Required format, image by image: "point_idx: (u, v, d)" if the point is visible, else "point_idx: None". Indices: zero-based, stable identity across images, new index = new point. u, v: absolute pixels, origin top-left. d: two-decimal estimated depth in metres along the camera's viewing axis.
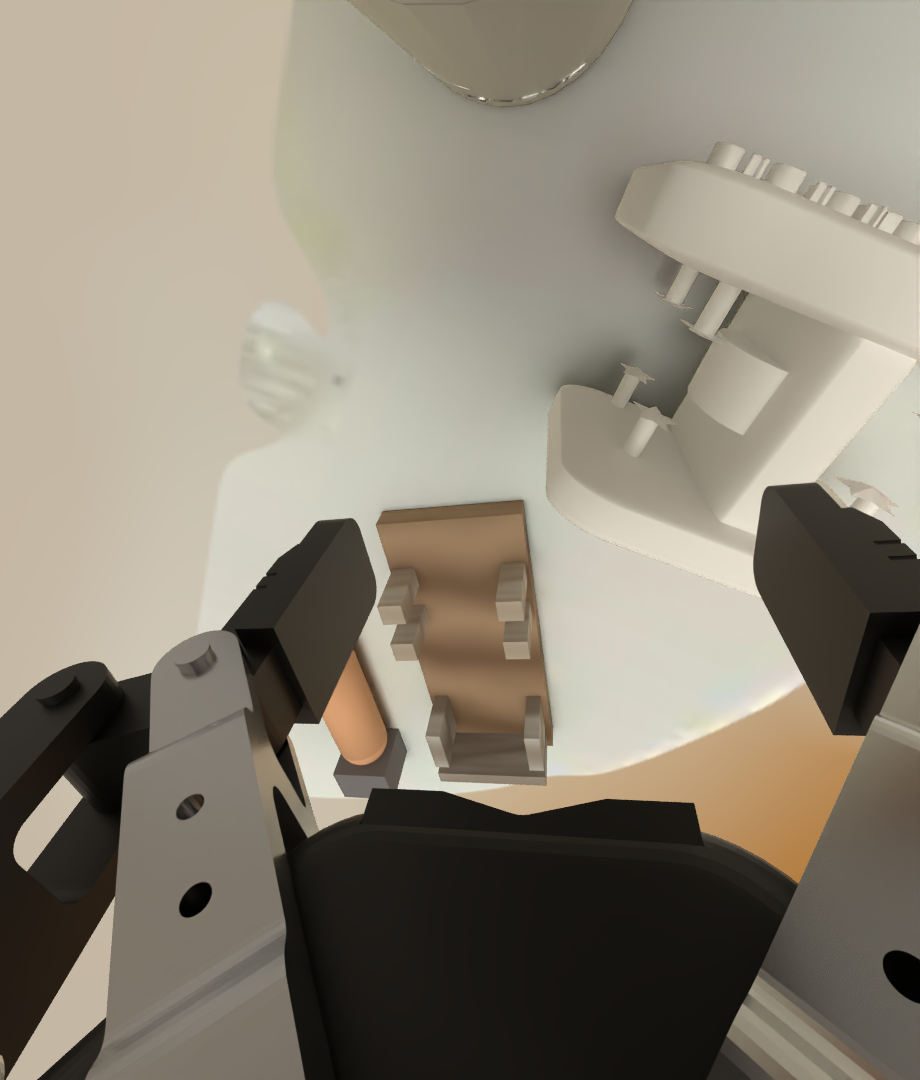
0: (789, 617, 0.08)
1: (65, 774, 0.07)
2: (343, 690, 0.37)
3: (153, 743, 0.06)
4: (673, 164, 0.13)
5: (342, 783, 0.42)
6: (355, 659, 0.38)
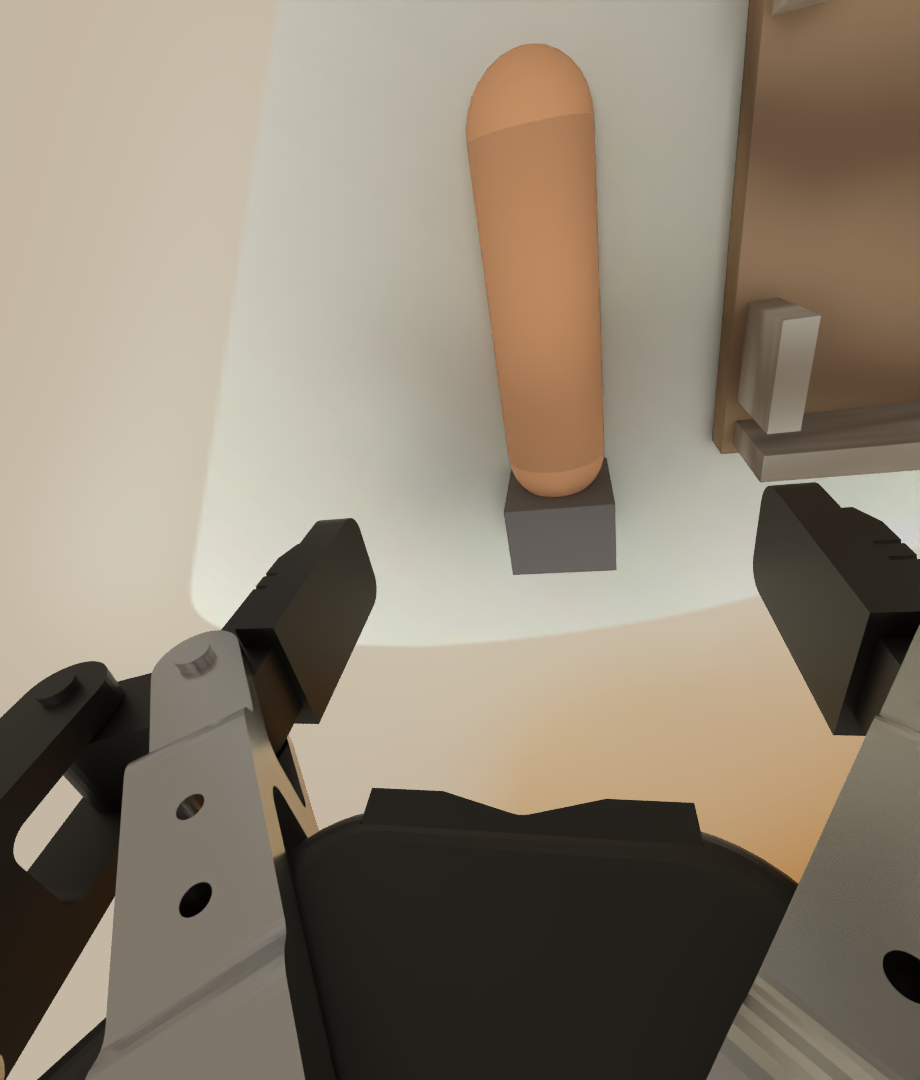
0: (789, 617, 0.08)
1: (65, 774, 0.07)
2: (579, 244, 0.17)
3: (153, 742, 0.06)
4: None
5: (517, 536, 0.22)
6: None
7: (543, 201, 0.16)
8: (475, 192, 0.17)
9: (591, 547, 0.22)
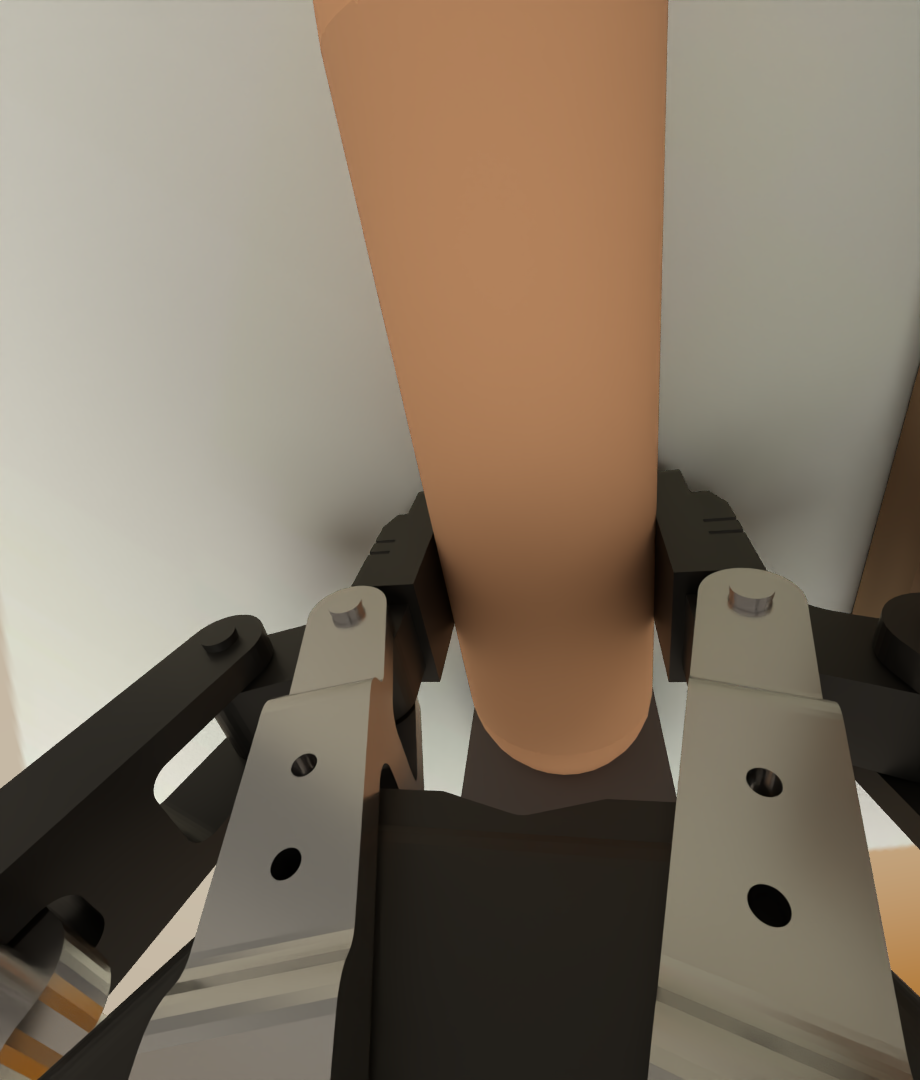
0: None
1: (224, 721, 0.08)
2: (623, 319, 0.06)
3: (295, 682, 0.07)
4: None
5: None
6: None
7: (526, 205, 0.05)
8: (352, 183, 0.07)
9: None
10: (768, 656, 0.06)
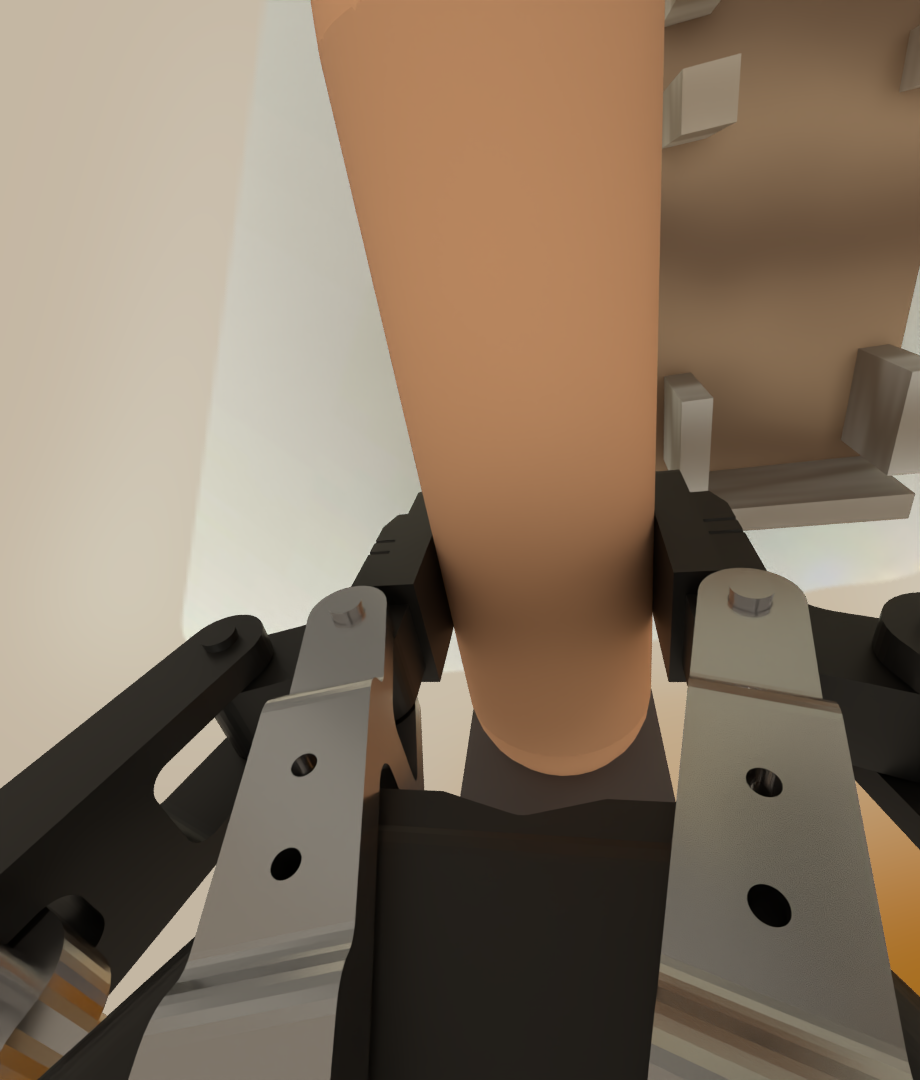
0: None
1: (224, 721, 0.08)
2: (620, 323, 0.06)
3: (295, 682, 0.07)
4: None
5: None
6: None
7: (524, 210, 0.05)
8: (351, 188, 0.07)
9: None
10: (768, 656, 0.06)
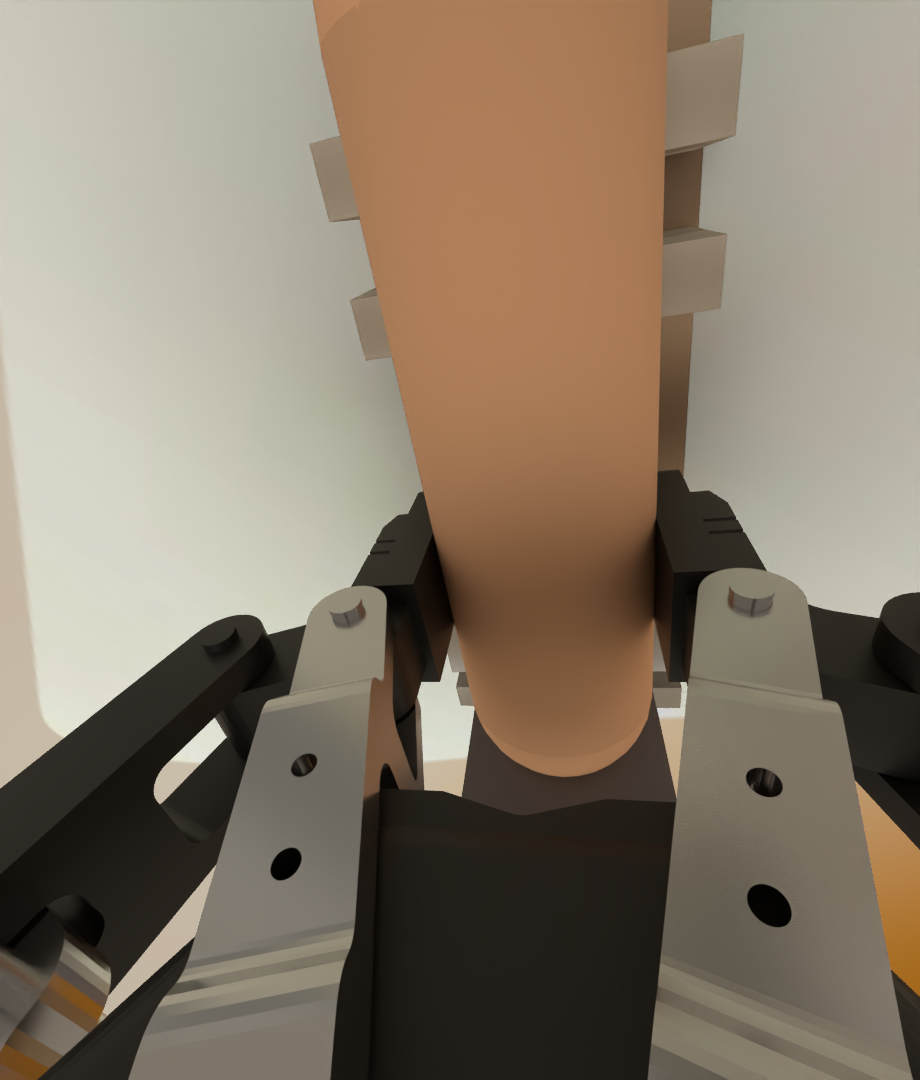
0: None
1: (224, 721, 0.08)
2: (623, 324, 0.06)
3: (294, 682, 0.07)
4: None
5: None
6: None
7: (526, 211, 0.05)
8: (353, 188, 0.07)
9: None
10: (768, 655, 0.06)
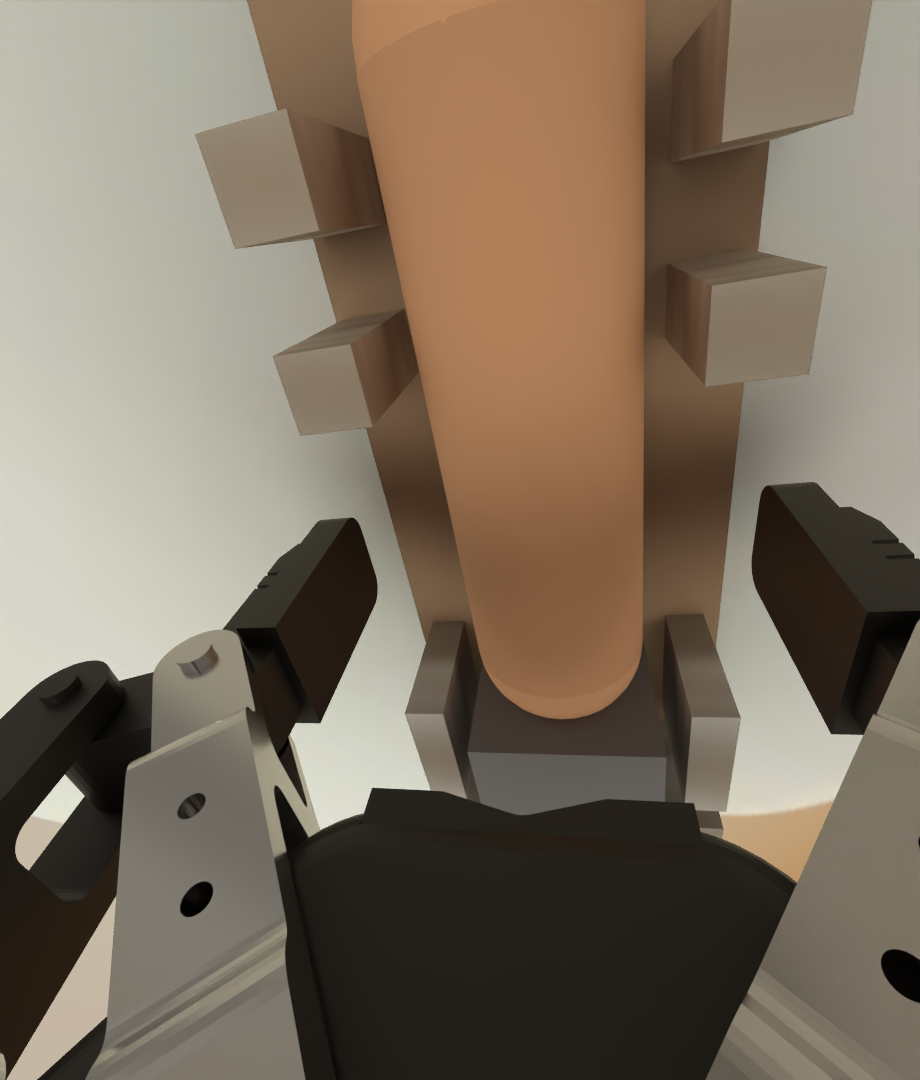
0: (787, 617, 0.08)
1: (67, 773, 0.07)
2: (608, 304, 0.07)
3: (155, 742, 0.06)
4: None
5: (492, 784, 0.13)
6: None
7: (527, 209, 0.07)
8: (381, 190, 0.08)
9: None
10: None
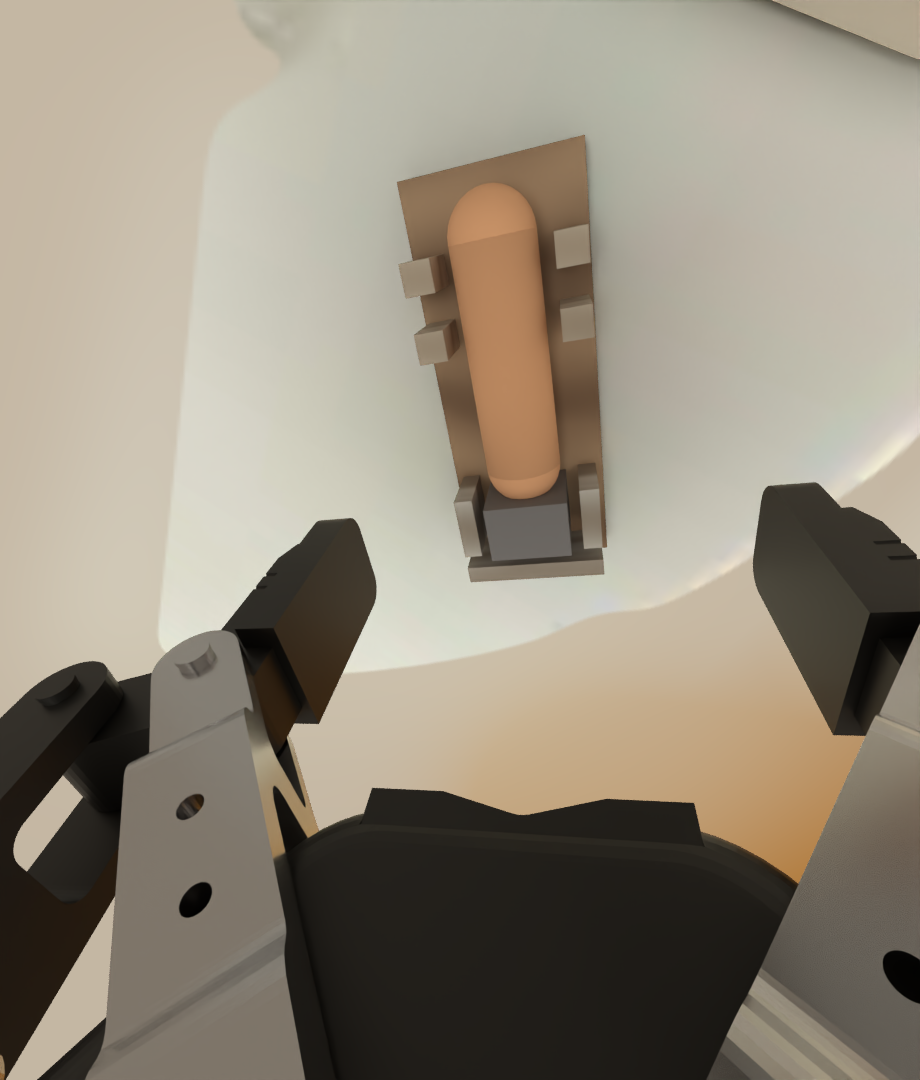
0: (789, 617, 0.08)
1: (65, 774, 0.07)
2: (529, 315, 0.23)
3: (153, 742, 0.06)
4: None
5: (494, 530, 0.28)
6: None
7: (501, 288, 0.22)
8: (454, 279, 0.23)
9: (551, 537, 0.28)
10: None
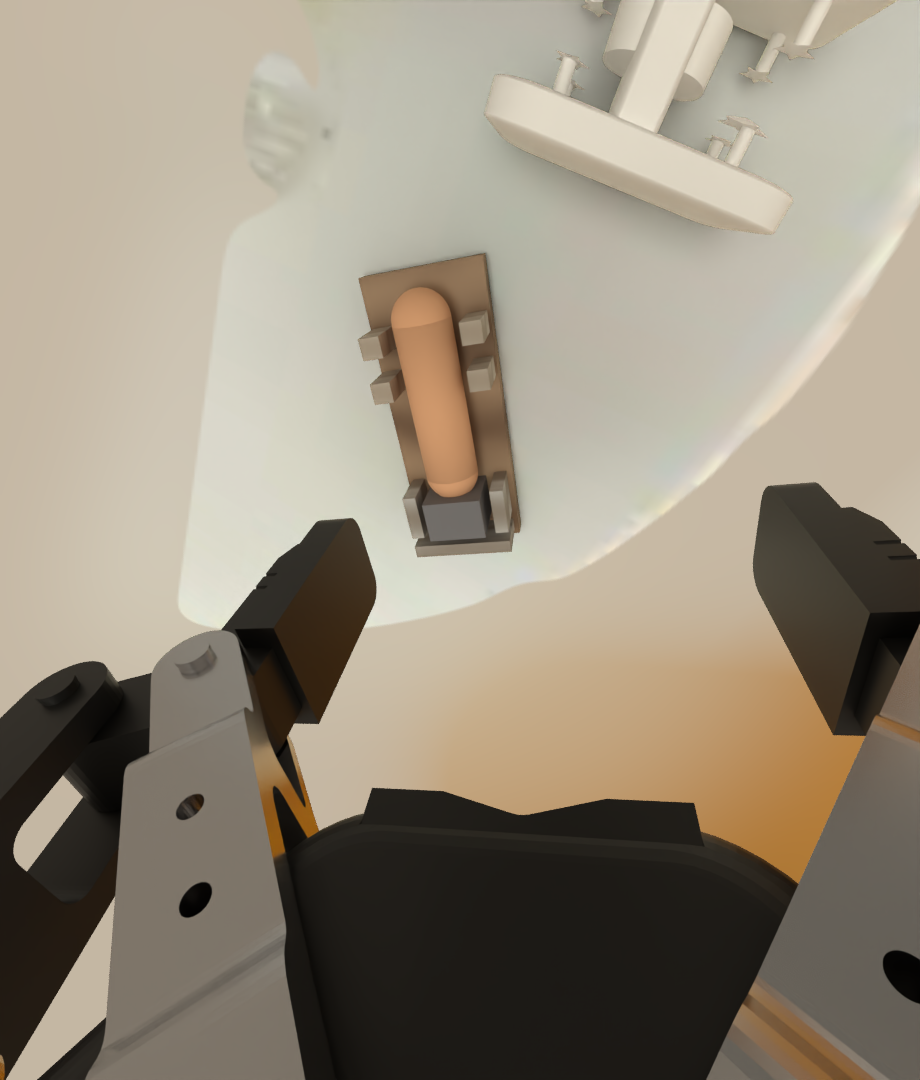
0: (789, 617, 0.08)
1: (65, 774, 0.07)
2: (446, 374, 0.34)
3: (153, 743, 0.06)
4: None
5: (430, 519, 0.39)
6: None
7: (426, 357, 0.33)
8: None
9: (470, 524, 0.39)
10: None
